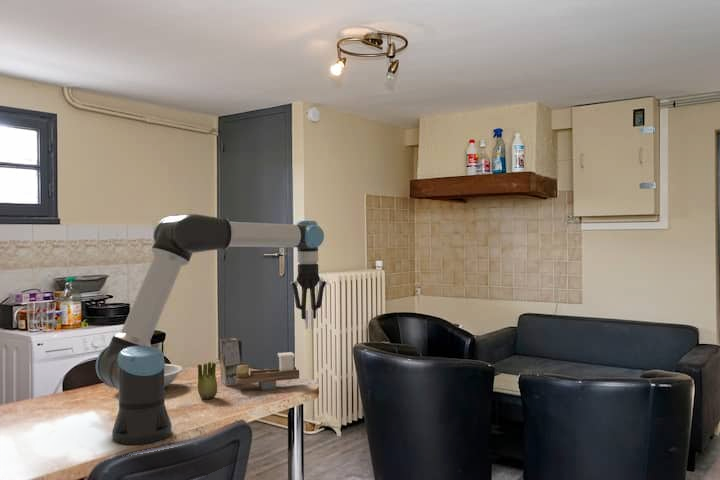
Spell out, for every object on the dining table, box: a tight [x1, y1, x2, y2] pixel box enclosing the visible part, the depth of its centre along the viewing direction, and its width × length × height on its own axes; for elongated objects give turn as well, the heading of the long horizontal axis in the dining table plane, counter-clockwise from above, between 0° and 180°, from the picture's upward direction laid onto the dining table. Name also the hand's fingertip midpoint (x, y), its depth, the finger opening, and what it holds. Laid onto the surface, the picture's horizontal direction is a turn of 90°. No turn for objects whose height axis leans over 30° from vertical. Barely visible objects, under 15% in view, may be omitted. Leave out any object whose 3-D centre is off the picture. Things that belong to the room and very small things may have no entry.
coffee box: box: [219, 337, 243, 387], centre depth 221 cm, size 9×6×16 cm
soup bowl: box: [164, 363, 184, 388], centre depth 213 cm, size 24×24×7 cm
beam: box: [235, 364, 300, 392], centre depth 212 cm, size 7×22×8 cm, turn 109°
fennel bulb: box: [197, 361, 218, 400], centre depth 199 cm, size 6×5×12 cm
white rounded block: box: [277, 351, 296, 371], centre depth 214 cm, size 5×5×7 cm
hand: (308, 327), depth 217 cm, fingers closed
